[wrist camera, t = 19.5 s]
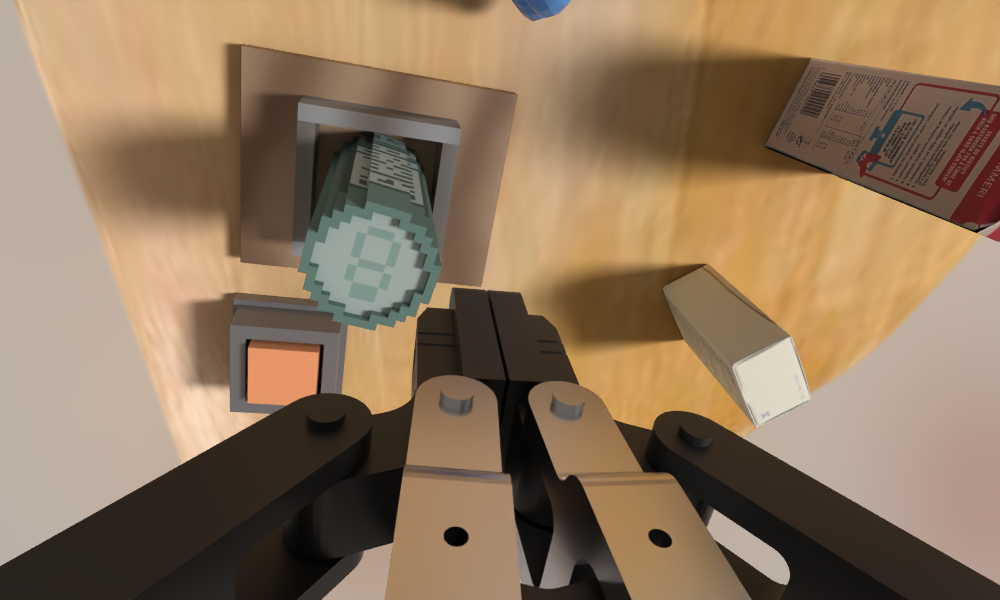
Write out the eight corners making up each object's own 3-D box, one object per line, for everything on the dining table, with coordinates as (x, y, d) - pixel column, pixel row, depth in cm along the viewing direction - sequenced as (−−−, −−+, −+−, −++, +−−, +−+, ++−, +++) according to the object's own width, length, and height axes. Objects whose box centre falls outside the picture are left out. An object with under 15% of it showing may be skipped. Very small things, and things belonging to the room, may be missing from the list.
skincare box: (727, 317, 52) (815, 402, 41) (681, 341, 52) (756, 431, 42) (706, 260, 49) (795, 334, 38) (657, 286, 49) (732, 366, 39)
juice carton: (811, 57, 43) (1160, 109, 23) (880, 90, 45) (1255, 163, 25) (764, 147, 45) (1043, 260, 26) (831, 173, 47) (1138, 298, 28)
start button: (322, 331, 44) (318, 352, 42) (319, 383, 46) (314, 406, 44) (256, 326, 43) (247, 347, 41) (255, 379, 45) (247, 403, 43)
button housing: (349, 303, 45) (346, 328, 42) (341, 390, 49) (338, 421, 45) (236, 292, 44) (223, 319, 40) (236, 384, 47) (224, 415, 43)
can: (320, 207, 41) (287, 310, 27) (343, 120, 38) (319, 186, 25) (407, 233, 42) (415, 340, 29) (434, 151, 40) (455, 227, 27)
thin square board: (514, 92, 41) (526, 102, 37) (479, 280, 46) (486, 304, 43) (245, 44, 37) (229, 50, 33) (244, 255, 43) (230, 280, 39)
